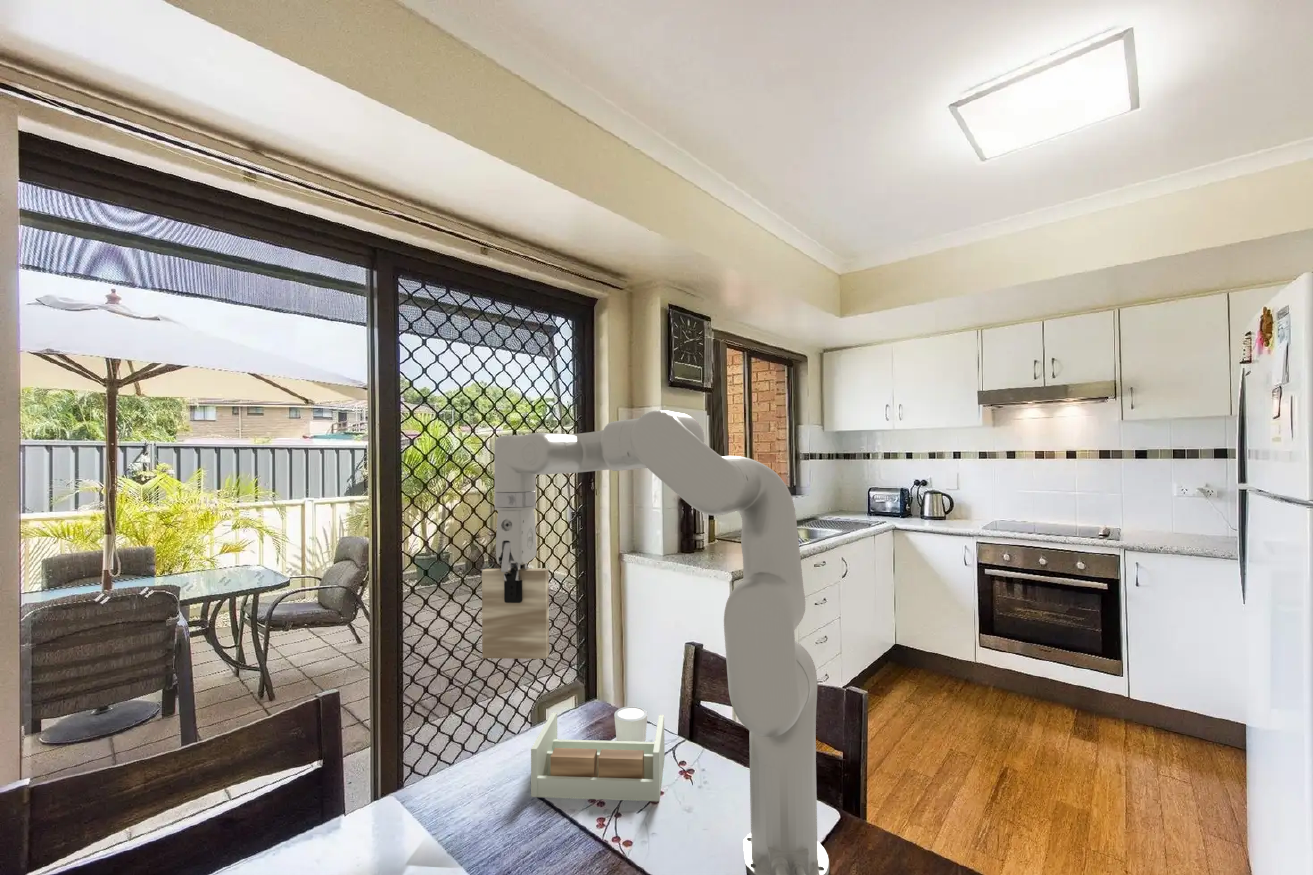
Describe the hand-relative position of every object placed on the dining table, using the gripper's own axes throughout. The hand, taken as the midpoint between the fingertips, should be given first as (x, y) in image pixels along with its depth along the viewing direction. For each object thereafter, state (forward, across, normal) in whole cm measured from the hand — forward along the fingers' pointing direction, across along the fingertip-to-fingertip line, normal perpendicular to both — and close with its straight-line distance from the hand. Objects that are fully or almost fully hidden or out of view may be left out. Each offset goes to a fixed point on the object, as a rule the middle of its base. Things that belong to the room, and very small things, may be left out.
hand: (515, 599), depth 105 cm
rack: (+33, 0, -16) cm, 37 cm away
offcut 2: (+32, -4, -20) cm, 38 cm away
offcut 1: (+32, -4, -12) cm, 34 cm away
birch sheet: (+10, 0, 0) cm, 10 cm away
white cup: (+33, +13, -20) cm, 41 cm away
